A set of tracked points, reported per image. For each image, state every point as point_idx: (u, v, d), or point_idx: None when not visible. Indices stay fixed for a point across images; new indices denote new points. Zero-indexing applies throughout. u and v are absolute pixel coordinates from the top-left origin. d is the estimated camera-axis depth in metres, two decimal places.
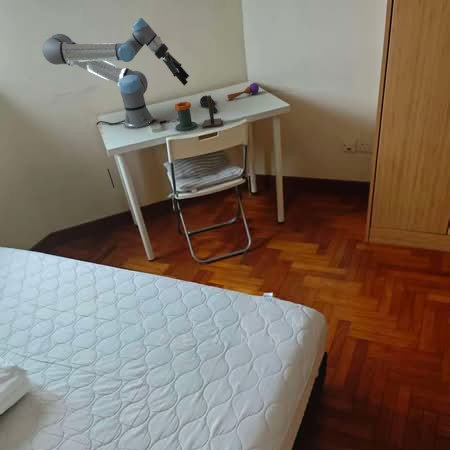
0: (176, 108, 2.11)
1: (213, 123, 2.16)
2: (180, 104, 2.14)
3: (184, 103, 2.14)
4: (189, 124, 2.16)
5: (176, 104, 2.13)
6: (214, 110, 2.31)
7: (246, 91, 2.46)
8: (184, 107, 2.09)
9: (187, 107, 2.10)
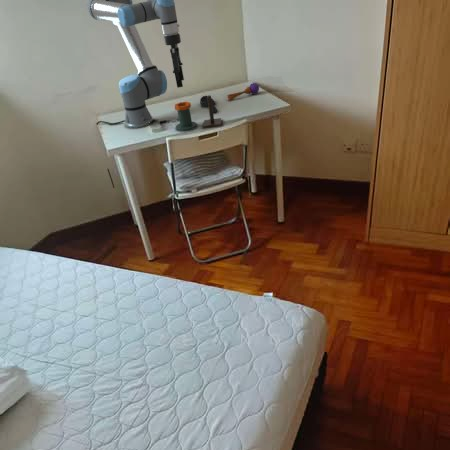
0: (176, 108, 2.11)
1: (213, 123, 2.16)
2: (180, 104, 2.14)
3: (184, 103, 2.14)
4: (189, 124, 2.16)
5: (176, 104, 2.13)
6: (214, 110, 2.31)
7: (246, 91, 2.46)
8: (184, 107, 2.09)
9: (187, 107, 2.10)
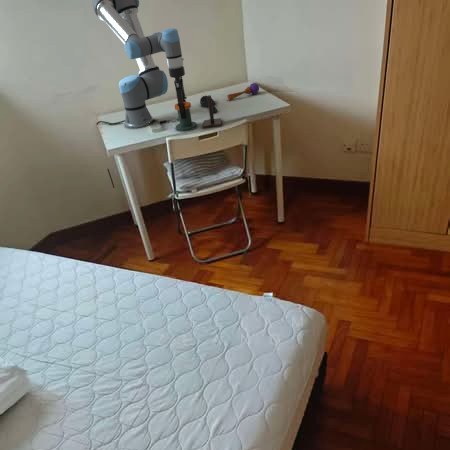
0: (176, 108, 2.11)
1: (213, 123, 2.16)
2: None
3: (184, 103, 2.14)
4: (189, 124, 2.16)
5: (176, 104, 2.13)
6: (214, 110, 2.31)
7: (246, 91, 2.46)
8: None
9: (187, 107, 2.10)
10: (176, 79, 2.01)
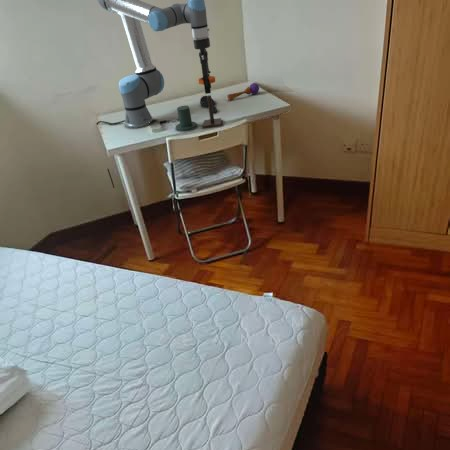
0: (200, 82, 2.03)
1: (213, 123, 2.16)
2: None
3: None
4: (189, 124, 2.16)
5: (200, 78, 2.05)
6: (214, 110, 2.31)
7: (246, 91, 2.46)
8: (209, 81, 2.01)
9: (212, 81, 2.02)
10: (201, 51, 1.93)
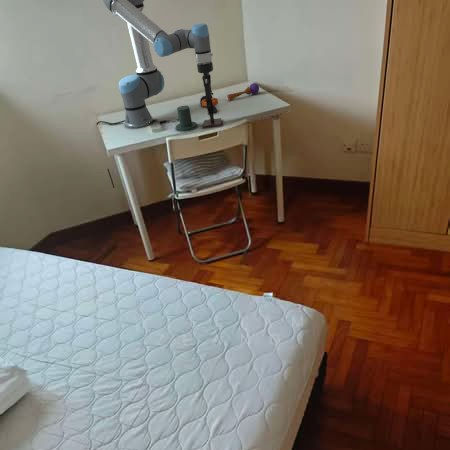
0: (203, 104, 2.10)
1: (213, 123, 2.16)
2: None
3: None
4: (189, 124, 2.16)
5: (203, 100, 2.12)
6: (214, 110, 2.31)
7: (246, 91, 2.46)
8: None
9: (214, 102, 2.09)
10: (204, 75, 2.00)
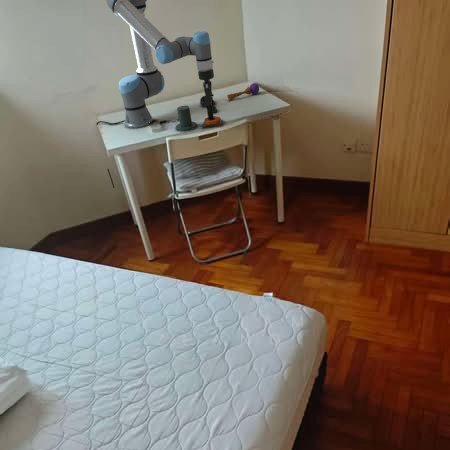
0: (206, 122, 2.16)
1: None
2: None
3: None
4: (189, 124, 2.16)
5: (205, 118, 2.18)
6: (214, 110, 2.31)
7: (246, 91, 2.45)
8: (214, 121, 2.14)
9: (217, 121, 2.15)
10: (205, 82, 2.02)
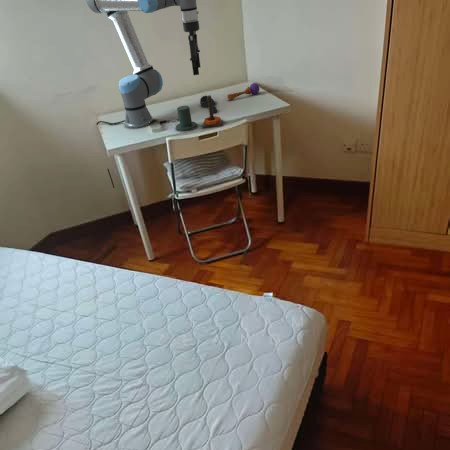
0: (206, 122, 2.16)
1: None
2: (209, 118, 2.19)
3: None
4: (189, 124, 2.16)
5: (205, 118, 2.18)
6: (214, 110, 2.31)
7: (246, 91, 2.45)
8: (214, 121, 2.14)
9: (217, 121, 2.15)
10: (190, 34, 1.94)
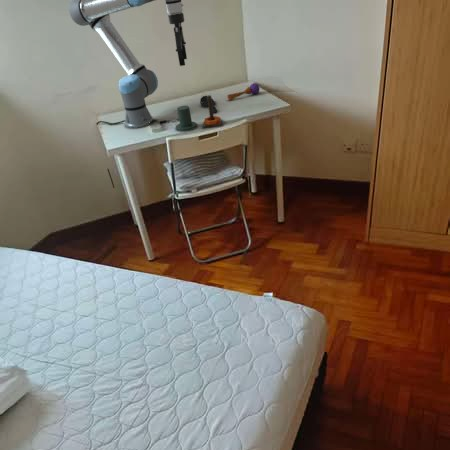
0: (206, 122, 2.16)
1: None
2: (209, 118, 2.19)
3: None
4: (189, 124, 2.16)
5: (205, 118, 2.18)
6: (214, 110, 2.31)
7: (246, 91, 2.45)
8: (214, 121, 2.14)
9: (217, 121, 2.15)
10: (175, 25, 2.02)
